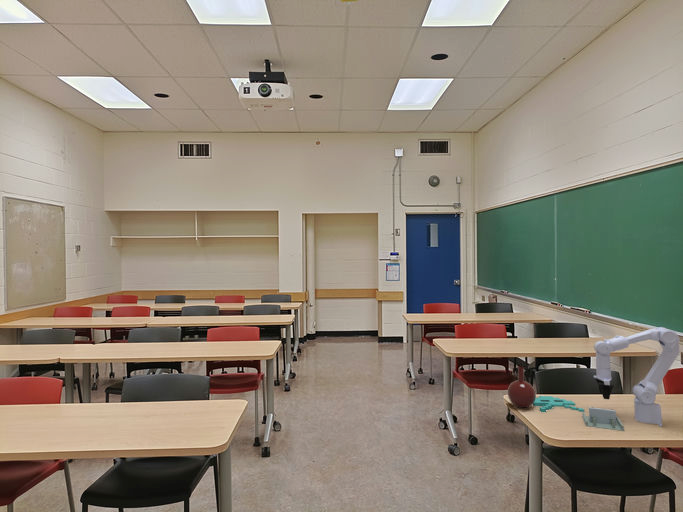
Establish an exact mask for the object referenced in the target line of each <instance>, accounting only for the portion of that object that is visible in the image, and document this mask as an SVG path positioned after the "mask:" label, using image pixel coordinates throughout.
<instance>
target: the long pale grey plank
mask: <svg viewBox="0 0 683 512" xmlns="http://www.w3.org/2000/svg"><path fill="white" fill-rule="evenodd" d="M592 407H593V406H591V407H588V416H589V421H590V422H592V416H595V418H596V423H604V424H611V418H613V419H614V421H615V425H616V416H617V411H616V410H615V409H614V410H611V409H607V408H599V407H594V408H592Z"/></svg>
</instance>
